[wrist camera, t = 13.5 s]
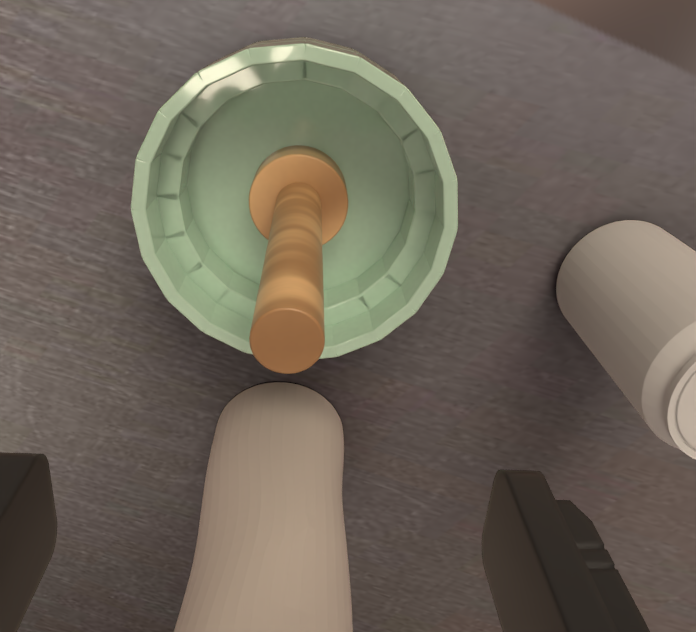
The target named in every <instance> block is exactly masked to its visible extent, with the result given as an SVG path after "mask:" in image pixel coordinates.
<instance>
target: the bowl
mask: <svg viewBox="0 0 696 632" xmlns="http://www.w3.org/2000/svg"><path fill="white" fill-rule="evenodd" d="M294 145H303V146H309V147H313V148H316V149H318V150H320V151H322V152H324V153H325V154H327V155H328V156H329V157H331V158H332V159H333V160H334V161H335V162H336V164H337V165H338V166H339V168H340V170H341V171H342V174H343V176H344V179H345V183H346V188H347V194H348V212H347V216H346V219H345V222H344V224H343V226H342V227H341V229H340V231H339V232H338V233H337V234H336V235H335V236H334V237H333V238H332V239H331V240H330V241H328V242H327V243H326V244H324V245H322V251H323V290H324V329H325V345H324V349H323V352H322V354H321V356H320V358H319V359H322V358H333V357H336V356H337V357H338V356H341V355H344V354H346V353H349V352H351V351H354V350H356V349H359V348H362V347H364V346H367V345H369V344H372V343H375V342H377V341H379V340H381V339H383V338H384V337H385V336H386V335H388V334H389V333H390V332H392V331H393V330H394V329H396V328H397V327H398V326H399V325H401V324H402V323H403V322H405V321H406V320H407V319H409V318H410V317H411V316H412V315H414V314H415V313H416V312H417V311H418V309H419V308H420V306H421V305H422V304H423V302H424V301H425V299H426V298H427V296H428V295H429V294H430V292H431V291H432V289H433V288H434V287H435V285H436V284H437V282H438V281H439V280H440V278H441V277H442V275H443V274H444V271H445V268H446V265H447V262H448V259H449V255H450V252H451V249H452V246H453V243H454V240H455V237H456V233H457V230H458V229H457V228H458V181H457V176H456V173H455V170H454V167H453V165H452V162H451V159H450V156H449V153H448V150H447V147H446V144H445V142H444V139H443V136H442V133H441V131H440V129H439V128H438V126H437V125H436V124H435V122H434V121H433V120H432V119H431V117H430V116H429V115H428V113H427V112H426V111H425V110H424V108H423V107H422V106H421V104H420V103H419V102H418V101H417V99H416V98H415V97H414V96H413V94H412V93H411V92H410V90H409V89H408V88H407V87H406V86H405V85H404V84H403V83H402V82H401V81H400V80H399V79H398V78H397V77H396V76H395V75H394V74H392V73H390V72H389V71H387V70H386V69H384V68H383V67H381V66H380V65H378V64H377V63H375V62H374V61H372V60H371V59H369V58H368V57H366V56H364V55H363V54H361V53H360V52H358V51H357V50H355V49H352V48H349V47H345V46H341V45H337V44H333V43H329V42H325V41H321V40H317V39H313V38H309V37H308V38H306V37H298V38H287V39H276V40H265V41H258V42H254V43H252V44H250V45H248V46H246V47H244V48H242V49H239V50H237V51H235V52H233V53H231V54H229V55H226V56H224V57H222V58H220V59H218V60H216V61H214V62H212V63H211V64H209V65H207V66H206V67H204V68H203V69H201V70H199V71H198V72H197V73H195V74H194V75H193V76H192V77H191V78H190V79H189V80H188V81H187V82H186V83H185V84H184V85H183V86H182V87H181V88H180V89H179V90H178V91H177V92H176V93H175V94H174V95H173V96H172V97H171V98H170V99H169V100H168V101H167V102H166V103H165V104H164V105H163V106H162V107H161V108H160V109H159V111H158V112H157V114H156V116H155V118H154V120H153V122H152V124H151V126H150V128H149V131H148V133H147V135H146V137H145V139H144V141H143V143H142V145H141V148H140V150H139V152H138V154H137V156H136V160H135V169H134V179H133V189H132V199H131V213H132V218H133V222H134V226H135V231H136V235H137V239H138V244H139V248H140V252H141V256H142V257H143V258H142V259H143V261H144V262H145V264H146V266H147V267H148V269H149V271H150V272H151V274H152V276H153V277H154V279H155V281H156V282H157V284H158V286H159V287H160V289H161V291H162V293H163V294H164V296H165V298H166V299H168V301H169V302H170V303H171V304H172V305H173V306H174V307H175V308H176V309H177V310H178V311H180V312H181V313H182V314H183V315H184V316H185V317H186V318H187V319H188V320H189V321H191V322H192V323H193V324H194V325H195V326H196V327H197V328H198V329H199V330H200V331H202V332H203V333H205V334H207V335H209V336H211V337H213V338H215V339H217V340H219V341H221V342H223V343H225V344H228V345H230V346H232V347H234V348H236V349H238V350H240V351H242V352H245V353H248V354H253V353H252V351H251V348H250V343H249V336H250V330H251V325H252V320H253V315H254V310H255V305H256V300H257V295H258V290H259V285H260V280H261V275H262V269H263V264H264V259H265V254H266V249H267V244H268V240H267V239H266V238H265V237H264V236H263V235H262V234H261V233H260V232H259V231H258V229H257V228H256V226H255V224H254V222H253V220H252V218H251V215H250V210H249V192H250V188H251V185H252V182H253V179H254V176H255V174H256V171H257V170H258V168H259V166H260V165H261V163H262V162H263V161H264V160H265V159H266V158H267V157H268V156H269V155H270V154H272V153H273V152H275V151H277V150H279V149H281V148H284V147H288V146H294Z"/></svg>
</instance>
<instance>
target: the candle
mask: <svg viewBox="0 0 696 632" xmlns="http://www.w3.org/2000/svg"><path fill="white" fill-rule="evenodd" d="M343 462H344V435H343V426H342V423H341V420H340V417H339V415H338V413H337V412H336V410H335V409H334V407H333V406H332V405H331V403H330V402H328V401H327V400H326V399H325V398H324V397H323V396H321V395H320V394H318V393H317V392H315V391H313V390H311V389H309V388H307V387H304V386H301V385H298V384H292V383H286V382H273V383H265V384H261V385H257V386H254V387H251V388H249V389H246V390H245V391H243V392H241V393H240V394H238V395H237V396H235V397H234V398H233V399H232V400H231V401H230V402H229V403H228V404H227V405H226V406H225V408H224V409H223V411H222V413H221V414H220V417H219V420H218V422H217V426H216V431H215V435H214V439H213V443H212V448H211V452H210V457H209V462H208V467H207V473H206V479H205V486H204V493H203V500H202V508H201V516H200V524H199V531H198V538H197V544H196V550H195V556H194V560H193V565H192V569H191V573H190V577H189V581H188V585H187V589H186V592H185V596H184V600H183V603H182V606H181V610H180V613H179V616H178V620H177V623H176V626H175V630H174V632H353V628H352V606H351V590H350V578H349V566H348V555H347V544H346V535H345V526H344V517H343V505H342V478H343Z"/></svg>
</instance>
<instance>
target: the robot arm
mask: <svg viewBox="0 0 696 632" xmlns="http://www.w3.org/2000/svg"><path fill="white" fill-rule="evenodd" d="M56 537H57V517H56V510H55V503H54V497H53V490H52V483H51V476H50V470H49V463H48V460H47V457H46V456H45V455H44V454H31V453H0V632H17V630H18V628H19V626H20V624H21V621H22V619H23V617H24V615H25V613H26V611H27V609H28V607H29V604H30V602H31V600H32V598H33V596H34V594H35V592H36V589H37V587H38V585H39V583H40V581H41V579H42V577H43V574H44V572H45V570H46V568H47V566H48V564H49V562H50V559H51V557H52V554H53V551H54V547H55V543H56ZM482 559H483V565H484V569H485V573H486V576H487V580H488V583H489V586H490V590H491V593H492V596H493V600H494V603H495V607H496V610H497V613H498V617H499V620H500V623H501V627H502V630H503V632H650V631H649V629H648V627H647V625H646V623H645V621H644V619H643V617H642V616H641V614H640V612H639V610H638V608H637V606H636V604H635V602H634V600H633V598H632V597H631V595H630V593H629V591H628V589H627V587H626V585H625V583H624V581H623V580H622V578H621V576H620V574H619V572H618V570H615V568H614V565H615V564H614V562H613V561H612V559H611V557H610V555H609V553H608V551H607V550H605V549H604V544H603V542H602V540H601V538H600V536H599V534H598V532H597V530H596V528H595V526H594V525H593V523H592V521H591V520H590V519H589V518H588V517H587V516H586V515H585V514H584V513H583V512H581V511H580V510H579V509H578V508H577V507H576V506H575V505H574V504H573V503H572V502H571V501H570V500H555V498H554V496H553V494H552V492H551V490H550V488H549V486H548V484H547V481H546V479H545V477H544V476H543V474H542V473H541V472H540V471H524V470H498V471H497V473H496V475H495V478H494V482H493V487H492V491H491V496H490V501H489V505H488V510H487V515H486V519H485V524H484V529H483V534H482Z"/></svg>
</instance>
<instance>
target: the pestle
mask: <svg viewBox="0 0 696 632" xmlns="http://www.w3.org/2000/svg"><path fill="white" fill-rule="evenodd" d="M249 210H250V215H251V218H252V220H253V222H254V224H255V226H256V228H257V229H258V231H259V232H260V233H261V234H262V235H263V236H264V237H265V238H266V239H267V240H268V244H267V249H266V254H265V259H264V264H263V269H262V275H261V280H260V285H259V290H258V295H257V300H256V305H255V310H254V315H253V320H252V325H251V330H250V336H249V343H250V348H251V351H252V353H253V355H254V357H255V358H256V359H257V361H258V362H259V363H260V364H262V365H263V366H264V367H266V368H267V369H269V370H271V371H274V372H277V373H283V374H293V373H298V372H301V371H304V370H306V369H308V368H309V367H311V366H312V365H313V364H314V363H316V361H317V360H318V359H319V358H320V356H321V354H322V352H323V349H324V345H325V329H324V290H323V251H322V245H324V244H326V243H327V242H328V241H330V240H331V239H332V238H333V237H334V236H335V235H336V234H337V233H338V232H339V231H340V229H341V227H342V226H343V224H344V222H345V219H346V216H347V212H348V194H347V188H346V183H345V179H344V176H343V174H342V171H341V170H340V168H339V166H338V165H337V164H336V162H335V161H334V160H333V159H332V158H331V157H329V156H328V155H327V154H325V153H324V152H322V151H320V150H318V149H316V148H313V147H309V146H303V145H294V146H288V147H284V148H281V149H279V150H277V151H275V152H273V153H272V154H270V155H269V156H268V157H267V158H266V159H265V160H264V161H263V162H262V163H261V165H260V166H259V168H258V170H257V171H256V174H255V176H254V179H253V182H252V185H251V188H250V192H249Z"/></svg>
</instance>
